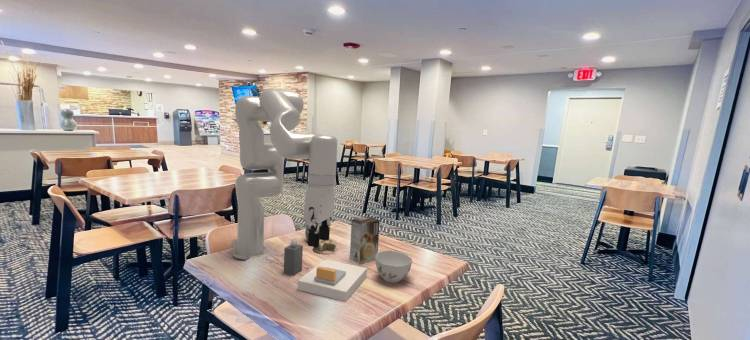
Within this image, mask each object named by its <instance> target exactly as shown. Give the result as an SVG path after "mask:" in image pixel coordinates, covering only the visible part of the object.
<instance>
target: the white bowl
mask: <svg viewBox="0 0 750 340" xmlns="http://www.w3.org/2000/svg"><path fill="white" fill-rule="evenodd" d="M374 261H375V267H376V270H377V272H378V274H379V275H380V277H381V278H382V279H383V280H384V281H385V282H386V283H390V284H395V283H400V282H401V280H403V279H404V278H405V277H406V276H407V275H408V274H409V272H410V270H411V267H412V264H413V259H412V257H411V256H409V255H408V254H407V253H404V252H401V251H395V250H382V251H378V253H377V254H376V256H375V260H374Z"/></svg>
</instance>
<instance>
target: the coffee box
mask: <svg viewBox="0 0 750 340" xmlns="http://www.w3.org/2000/svg"><path fill="white" fill-rule="evenodd" d="M380 222H381V221H380V219H377V218H374V217H372V216H366V217H365V216H364V217H358V218H354V219H353V218H352V219H351V225H350V226H351V228H350V247H349V248H350V249H349V260H350V261H352V262H354V263H356V264H358V265H360V266H361V265H363V264H366V263H369V262H373V261H375V256H376V254H377V253H379V237H380Z"/></svg>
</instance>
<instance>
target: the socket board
mask: <svg viewBox="0 0 750 340" xmlns="http://www.w3.org/2000/svg"><path fill="white" fill-rule="evenodd" d="M319 266H320V267H325V268H326V267H328V268H332V269H337V270H342V271H346V274H345V275H344V276H343V277H342V278H341V279H340V280H339V281H338V282H337V283H336V284H335V285H333V284H328V283H324V282H320V281H315V280H314V277H315V276H316V272H317V267H319ZM367 273H368V268H367V267H364V266H358V265H354V264H349V263H344V262H339V261H334V260H330V259H323V261H321V262H319V264H317V265H316V266H314V267H313V268H312V269H310V271H308V272H306V273H305V274H304V275H303V276H302V277H300V278H299V279H298V280H297V290H298V291H301V292H304V293H305V292H306V293H309V294H314V295H317V296H322V297H325V298H330V299H334V300H336V301H337V300H338V301H342V302H346V301H347V300H348V299H349V298H350V297H351V296H352V295H353V293H354V292H355V291H356V290H357V289H358V288H359V286H360V285H361V284H362V283H363V282H364V280H365V279H366V277H367Z"/></svg>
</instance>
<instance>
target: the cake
mask: <svg viewBox="0 0 750 340" xmlns="http://www.w3.org/2000/svg"><path fill="white" fill-rule="evenodd" d="M312 250H313V251H314V252H315V253H317V254H323V255H330V254H335V253H337V252H338V248H337V241H336V240H335V239H332V238H329V240H328V241H326V240H320V239H319V247H318V248H316V247H312ZM325 251H327V253H325Z"/></svg>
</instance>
